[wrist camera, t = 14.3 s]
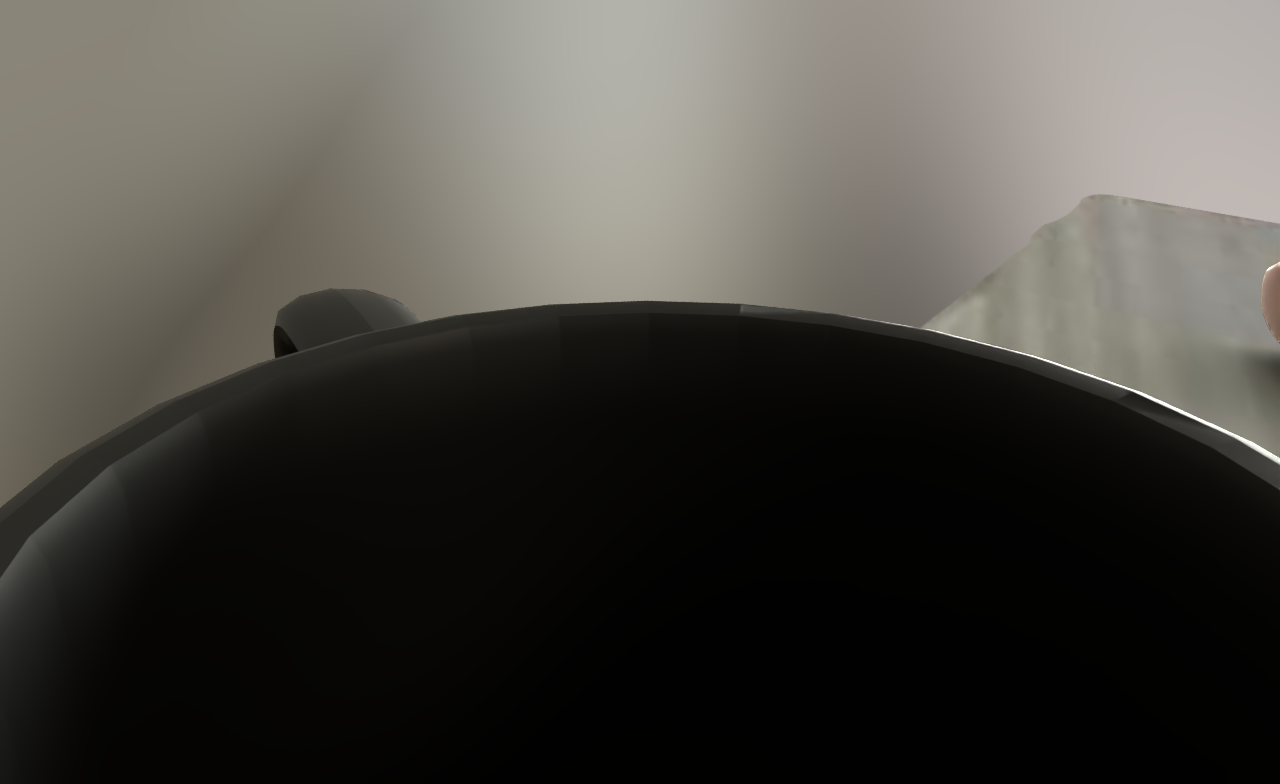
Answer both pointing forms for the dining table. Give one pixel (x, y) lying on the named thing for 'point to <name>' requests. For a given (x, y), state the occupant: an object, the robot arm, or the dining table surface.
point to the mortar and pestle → (1272, 299)
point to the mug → (643, 564)
